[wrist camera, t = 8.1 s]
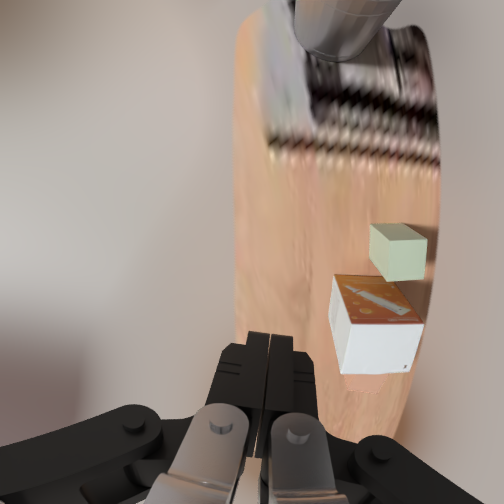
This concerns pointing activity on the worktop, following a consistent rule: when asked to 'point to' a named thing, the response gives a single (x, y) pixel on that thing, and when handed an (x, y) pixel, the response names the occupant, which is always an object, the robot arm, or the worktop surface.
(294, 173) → the worktop surface
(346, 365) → the small box
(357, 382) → the terracotta block
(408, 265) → the sage block
